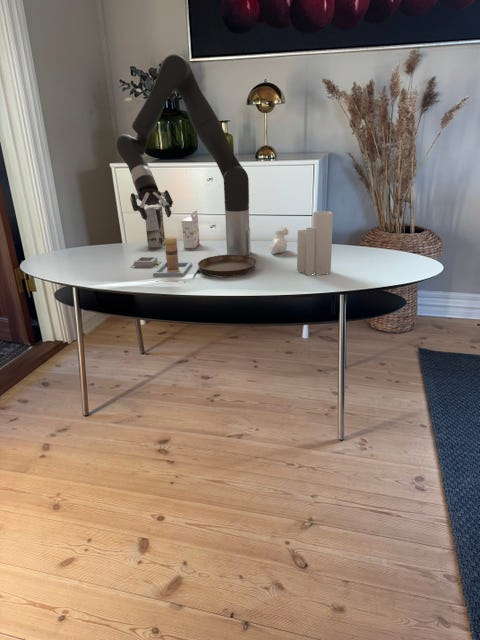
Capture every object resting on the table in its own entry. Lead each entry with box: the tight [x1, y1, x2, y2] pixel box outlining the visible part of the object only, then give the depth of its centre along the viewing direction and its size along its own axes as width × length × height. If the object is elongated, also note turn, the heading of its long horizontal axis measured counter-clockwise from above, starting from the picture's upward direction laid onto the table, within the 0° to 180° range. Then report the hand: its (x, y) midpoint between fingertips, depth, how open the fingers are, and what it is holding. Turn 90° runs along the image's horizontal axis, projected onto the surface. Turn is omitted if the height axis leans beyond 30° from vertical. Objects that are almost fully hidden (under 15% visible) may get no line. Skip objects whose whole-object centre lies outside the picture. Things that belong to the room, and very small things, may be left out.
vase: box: [296, 210, 334, 276], centre depth 159 cm, size 11×7×20 cm, turn 83°
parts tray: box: [152, 261, 193, 278], centre depth 165 cm, size 10×14×3 cm
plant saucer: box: [197, 254, 258, 278], centre depth 168 cm, size 21×21×3 cm
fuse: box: [164, 236, 180, 272], centre depth 163 cm, size 4×4×12 cm
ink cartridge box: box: [180, 209, 201, 249], centre depth 204 cm, size 9×5×15 cm, turn 168°
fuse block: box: [129, 256, 163, 269], centre depth 174 cm, size 10×8×4 cm
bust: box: [269, 226, 289, 255], centre depth 189 cm, size 12×8×11 cm
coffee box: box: [144, 206, 166, 249], centre depth 207 cm, size 9×6×16 cm
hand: (157, 217), depth 168 cm, fingers open, 8 cm apart
